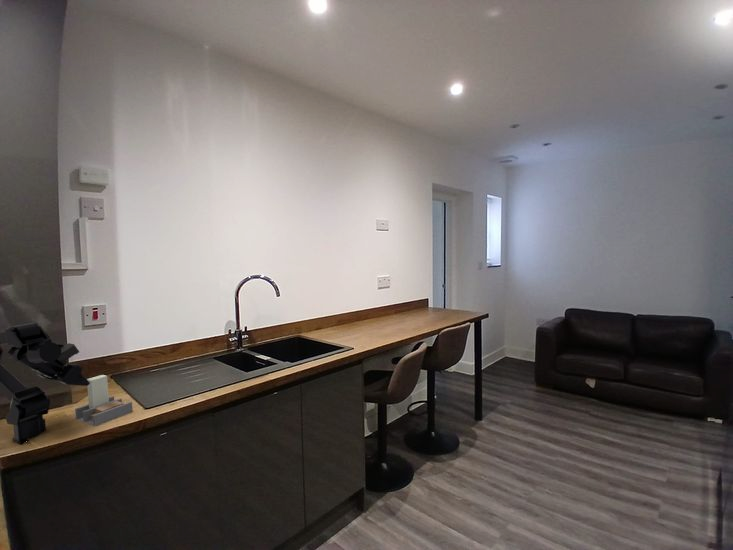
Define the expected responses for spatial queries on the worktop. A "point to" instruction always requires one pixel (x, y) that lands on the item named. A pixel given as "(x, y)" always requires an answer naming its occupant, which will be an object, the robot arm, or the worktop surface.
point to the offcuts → (106, 408)
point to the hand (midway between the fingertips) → (81, 382)
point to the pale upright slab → (98, 391)
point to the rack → (105, 416)
